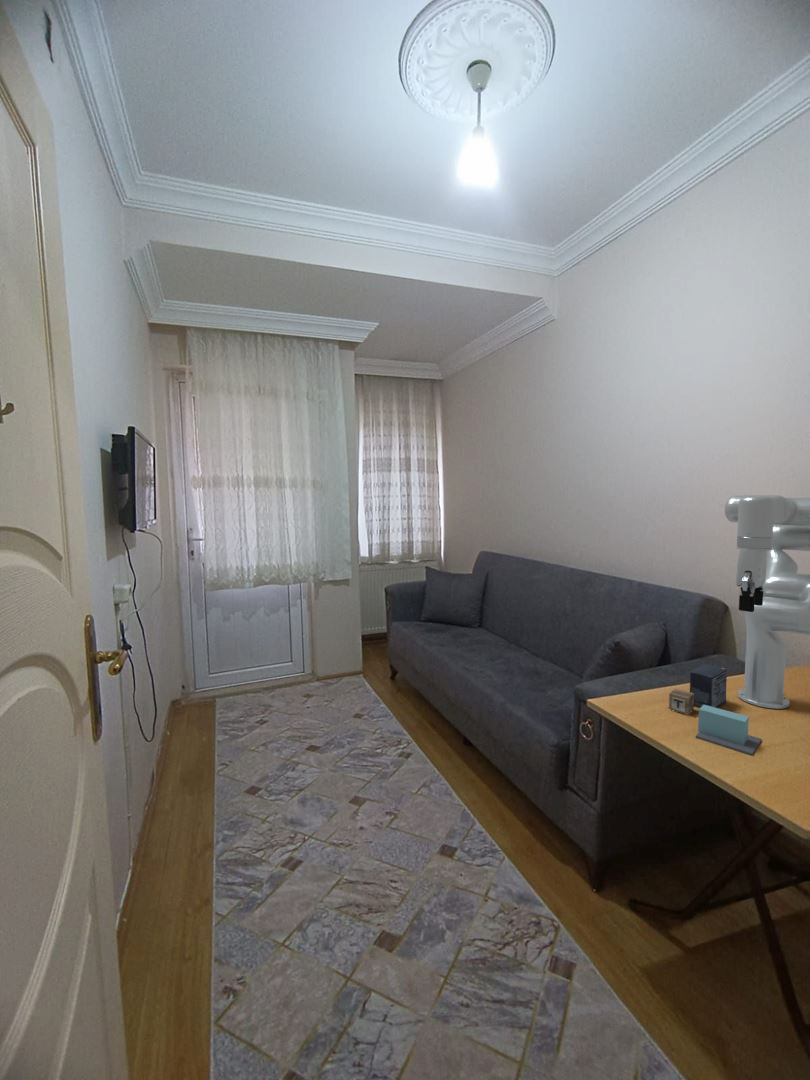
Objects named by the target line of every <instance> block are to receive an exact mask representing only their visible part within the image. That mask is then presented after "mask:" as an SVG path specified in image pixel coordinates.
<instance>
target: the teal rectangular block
mask: <svg viewBox="0 0 810 1080" xmlns="http://www.w3.org/2000/svg"><path fill="white" fill-rule="evenodd" d="M749 717H750V716H747V715H744V714H740V713H736V712H733V711H729V710H726V709H721V708H720V707H718V708H715V707H711V706H707V705H703V706H702V707H701V708H699V709H698V724H697V731H698V733H699V732H702V733H706V734H709V735H712V736H715V737H719V738H722V739H725V740H728V741H732V742H735V743H738V744H741V745H744V744H745V743H746V741H747V740H748V735H749V719H750V718H749Z"/></svg>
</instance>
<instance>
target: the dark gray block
mask: <svg viewBox="0 0 810 1080" xmlns="http://www.w3.org/2000/svg"><path fill="white" fill-rule="evenodd" d="M695 738H696V739H700V740H702V741H705V742H708V743H712V744H714V745H718V746H721V747H724V748H728V749H731V750H733V751H737V752H739V753H744V754H746V755H748V756H753V755H754V753H755V752H756V751H757V749H758V747H759V745H760V744H761V742H762V738H760V737H758V736H753V735H750V734H748V740H747V741H746V743H745V744H744V745H741V744H738V743H735V742H732V741H728V740H725V739H722V738H719V737H715V736H712V735H709V734H706V733H702V732H699V731H698V732H697V734H696V735H695Z"/></svg>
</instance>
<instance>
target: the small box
mask: <svg viewBox="0 0 810 1080" xmlns="http://www.w3.org/2000/svg"><path fill="white" fill-rule="evenodd" d="M727 672H728V670H727V668H725V667H721V666H716V665H712V664H708V663H707V664H706V663H705V664H702V665H700V666H698V667H696V668H695V669H693V670H690V672H689V673H690V674H689V675H690V676H689V692H691V693H694V708H699V709H700V708H701V707H702V706H703V705H707V706H711V707H715V708H720V707H721V706H722V705H724V704H725V703H726V702H727V681H728V680H727V679H728V678H727V676H728V675H727V674H728V673H727Z"/></svg>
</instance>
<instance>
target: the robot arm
mask: <svg viewBox="0 0 810 1080" xmlns="http://www.w3.org/2000/svg"><path fill="white" fill-rule="evenodd" d="M724 515H725V518H726V519H727V520H728V521H729V522H731V523H737V531H736V532H737V534H736V535H737V537H736V549H737V550H739V554H738V557H737V565H736V575H735V576H736V577H735V585H736V586H737V587H739V588H740V591H739V597H738V599H739V600H738V610H739V611H741V612H744V619H745V624H746V625H745V626H746V646H745V665H744V679H743V680H744V685H743V688H741V689H738V690H737V697H738V698H739V699H741V700H742V701H744V702H745V703H748V704H750V705H754V706H757V707H762V708H768V709H776V710H782V709H786V708H789V706H790V700H789V699H788V698H787V697H785V695H784V686H785V672H786V657H787V655H786V654H787V646H786V643H785V640H784V639H783V638H782V636H781V635H780V634H779V633H778V632H783V633H790V634H795V635H796V634H797V635H803V636H810V574H807V573H797V572H798V570H799V567H798V566H799V565H798V564H797V562H796V561H795V560H794V558H792V557H791V556H790V555H789V554H788V553H786V552H785V551H786V550H787V551H801V552H803V551H805V552H810V497H784V496H782V495H776V494H775V495H774V494H773V495H772V494H770V495H769V494H768V495H767V494H764V495H763V494H759V495H758V494H754V495H750V494H748V495H747V494H745V495H733V496H730V497H729V498H728V499H727V500H726V501H725V505H724ZM784 550H785V551H784Z"/></svg>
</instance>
